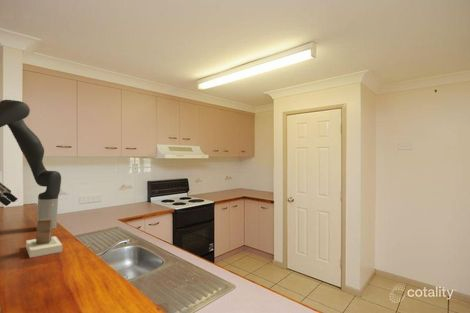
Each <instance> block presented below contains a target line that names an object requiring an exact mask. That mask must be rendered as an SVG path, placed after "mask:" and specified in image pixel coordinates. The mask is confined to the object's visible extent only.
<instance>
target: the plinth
mask: <svg viewBox="0 0 470 313" xmlns="http://www.w3.org/2000/svg"><path fill="white" fill-rule="evenodd" d="M25 248H26V251H27V254H28V256H29V259H31V258H32V259H33V258H37V257H42V256H47V255H53V254H58V253H62V252H63V244H62V242H61V240H59V238H58V237H57V236H55V235H54V236H53V235H52V238H51V241H50V243H48V244H36V238H33V239H27V240H26V241H25Z"/></svg>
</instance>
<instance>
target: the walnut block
mask: <svg viewBox="0 0 470 313" xmlns="http://www.w3.org/2000/svg"><path fill="white" fill-rule="evenodd" d="M52 221H53V218H52V219H40V220H39V221H37V220H36V226H37V229H36V238H35V239H36V244H48V243H50V241H51V238H52V237H53V234H52V233H53V229H52Z"/></svg>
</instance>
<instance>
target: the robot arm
mask: <svg viewBox="0 0 470 313" xmlns="http://www.w3.org/2000/svg"><path fill="white" fill-rule="evenodd" d="M30 112H31V109H30V107H29V105H28V104H27V103H26V102H23V101H20V100H15V99H3V100H1V101H0V128H2V127H5V126H7V127H8V128H9V130H10V132H11V133H12V135H13V137H14V139H15V142H16V143H17V145H18V148H19V149H20V151H21V153H22V154H23V156H24V158H25V159H26V160H25V161H26V163H27V164H28V166H29V168H30V170H31V172H32V175H33V176H32V177H33V178H34V180H35V183H36V184H37V186H40V187H45V188H46V189H45V191H43V192H40V193H39V194H38V195H37V210H36V211H37V213H36V214H37V215H36V222H37V221H39V220H40V219H52V218H53V221H52V230H54V229H57V221H58V207H59V206H58V205H59V204H58V203H59V195H60V192H61V185H62V174H61V173H60V172H59V171H58V170H47V169H46V168H45V165H44V162H43V159H44V155H45V148H44V146H43V144H42V142H41V140H40V138H39V137H38V136H37V135H36V134H35V133H34V132H33V131H32V130H31V129H30V128H29V127H28V125H27V124H26V123H25V121H24V119H26V118H27V117H29V114H30ZM16 201H18V198H17V197H16V196H15V195H14V194H12V190H11V189H9V187H7V186H5V185H4V184H3V183H1V182H0V203H1V204H2V205H4V206H6V207H7V206H9V205H10V204H12V203H15V202H16ZM36 230H37V225H36Z"/></svg>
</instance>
